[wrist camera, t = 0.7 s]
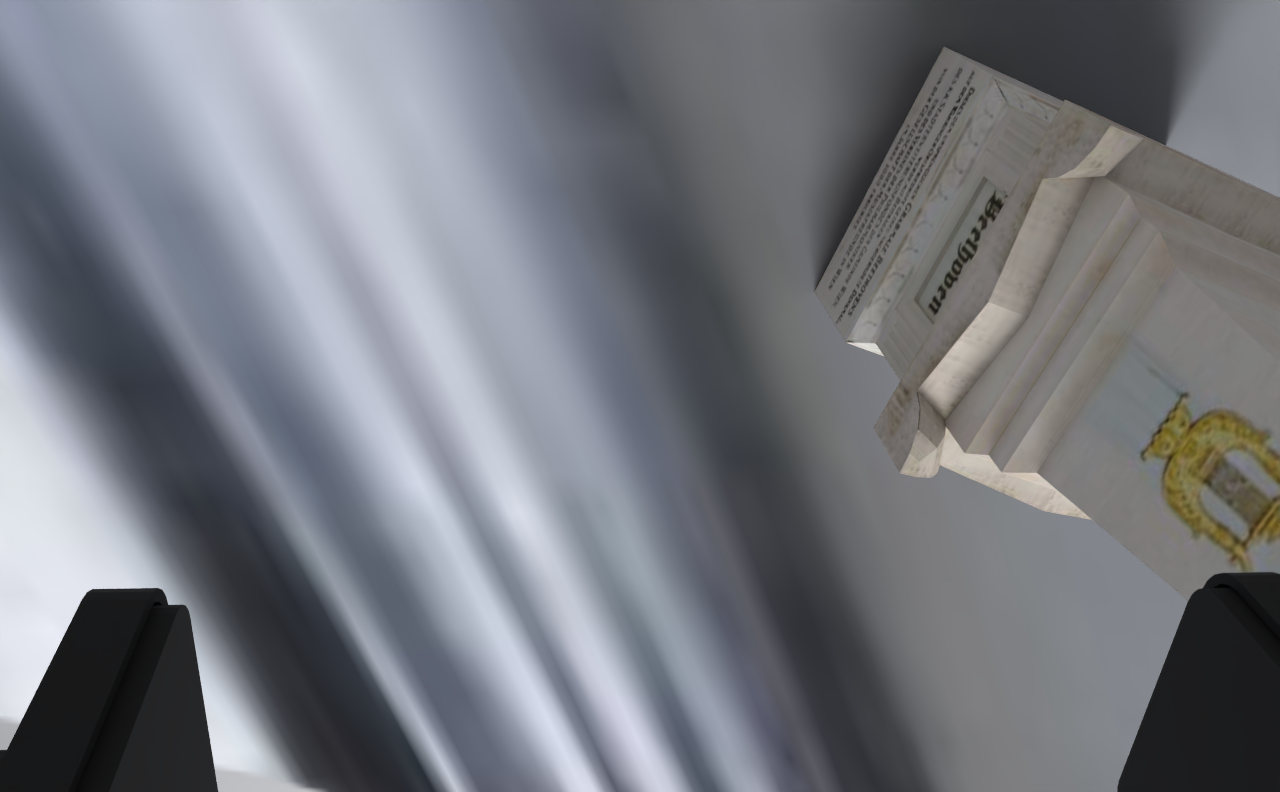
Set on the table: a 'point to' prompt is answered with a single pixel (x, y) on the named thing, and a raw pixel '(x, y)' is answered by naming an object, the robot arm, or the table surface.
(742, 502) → the table surface
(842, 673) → the table surface
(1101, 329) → the miniature monument
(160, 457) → the table surface
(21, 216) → the table surface
